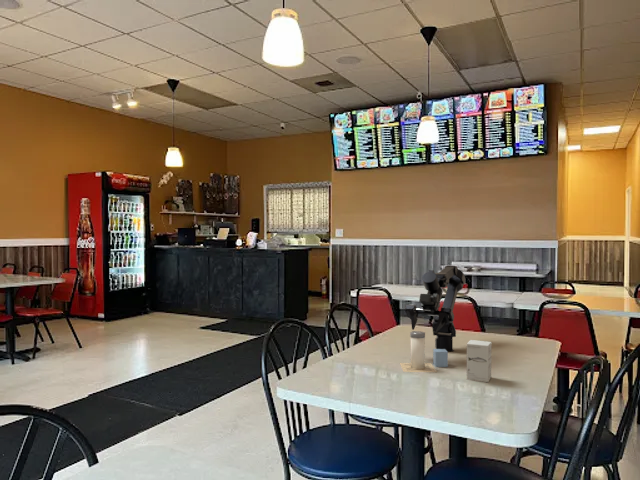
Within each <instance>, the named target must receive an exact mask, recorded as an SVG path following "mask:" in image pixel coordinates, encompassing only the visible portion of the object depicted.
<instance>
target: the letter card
mask: <svg viewBox="0 0 640 480" xmlns="http://www.w3.org/2000/svg"><path fill="white" fill-rule="evenodd" d="M399 365H400V367H401V369H402V371H403V373H437V372H438V371H437V370H436V369H435V368H436V367H435V366H434V364H433V363H431V362H429V363H428V362H425V368H424V369H413V368H411V362H400V363H399Z"/></svg>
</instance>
